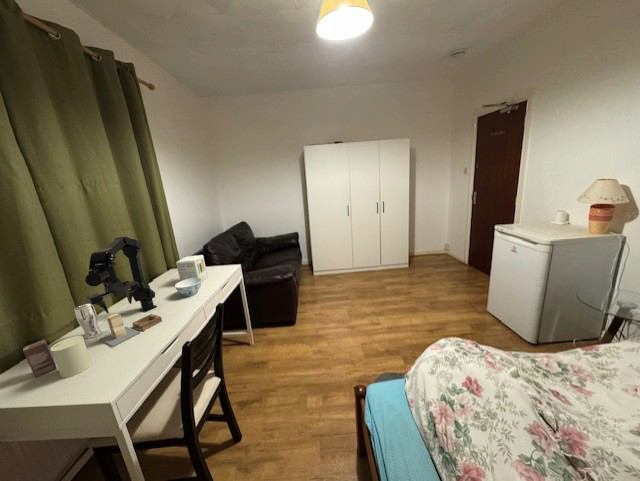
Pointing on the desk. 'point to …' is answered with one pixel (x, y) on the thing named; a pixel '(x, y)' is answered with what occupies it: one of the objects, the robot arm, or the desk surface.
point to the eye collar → (140, 323)
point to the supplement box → (192, 268)
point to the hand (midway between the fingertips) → (119, 308)
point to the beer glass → (87, 320)
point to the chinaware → (188, 286)
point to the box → (39, 358)
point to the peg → (116, 325)
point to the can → (71, 356)
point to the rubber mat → (114, 342)
